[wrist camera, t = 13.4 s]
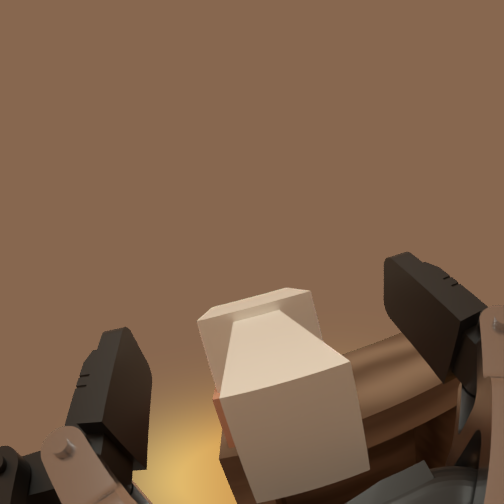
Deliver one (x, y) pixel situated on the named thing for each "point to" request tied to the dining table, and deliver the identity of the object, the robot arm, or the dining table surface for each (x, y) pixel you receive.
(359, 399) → the walnut stand
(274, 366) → the beige long block
